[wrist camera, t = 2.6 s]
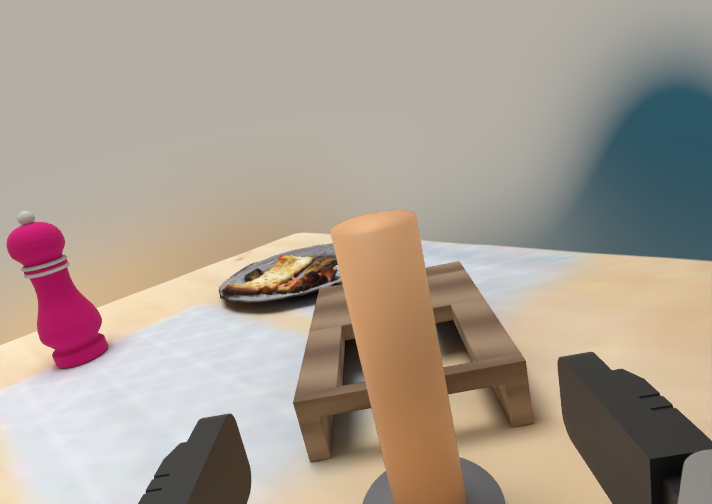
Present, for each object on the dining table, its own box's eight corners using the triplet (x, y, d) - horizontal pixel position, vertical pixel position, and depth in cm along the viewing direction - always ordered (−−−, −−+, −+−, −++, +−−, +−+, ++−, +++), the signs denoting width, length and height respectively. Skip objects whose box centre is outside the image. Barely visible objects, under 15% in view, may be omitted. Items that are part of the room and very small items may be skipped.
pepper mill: (122, 345, 64) (67, 201, 58) (69, 374, 58) (2, 218, 53) (95, 340, 68) (40, 205, 62) (42, 367, 62) (-23, 221, 57)
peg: (415, 458, 32) (361, 202, 27) (532, 503, 27) (491, 195, 22) (337, 549, 27) (252, 249, 22) (465, 629, 21) (390, 255, 16)
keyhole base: (533, 423, 33) (525, 360, 32) (310, 461, 34) (293, 402, 33) (465, 302, 54) (459, 261, 53) (329, 328, 55) (319, 288, 54)
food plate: (324, 314, 59) (318, 287, 58) (190, 315, 70) (183, 293, 69) (395, 251, 80) (391, 231, 80) (284, 260, 91) (279, 242, 90)
